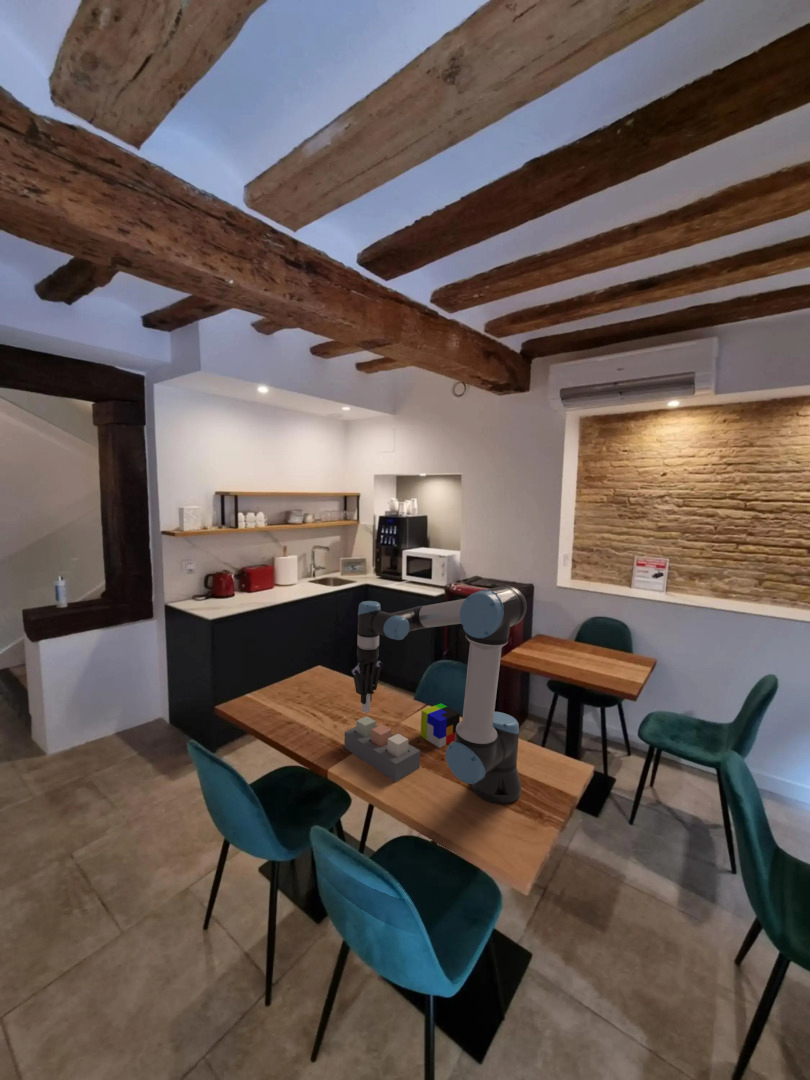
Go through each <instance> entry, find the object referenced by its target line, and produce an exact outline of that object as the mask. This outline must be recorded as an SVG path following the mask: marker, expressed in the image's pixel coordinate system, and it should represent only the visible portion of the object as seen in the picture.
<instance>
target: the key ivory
mask: <svg viewBox="0 0 810 1080" xmlns="http://www.w3.org/2000/svg"><path fill="white" fill-rule="evenodd" d="M408 744H409V739H408V738H407V737H405V736H403V735H401V734H400V733H396V734H395V735H394V736H392V737H390V738H388V745H387V752H388V753H390V754H392V755H393V756H395V757H397V758H399V757H401V756H402V755H404V754H406V753H408Z"/></svg>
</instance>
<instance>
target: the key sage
mask: <svg viewBox="0 0 810 1080" xmlns="http://www.w3.org/2000/svg"><path fill="white" fill-rule="evenodd" d="M355 724H356V726H355V727H356V733H357V734H359V735H361V736H362V737H364V738H366V737H368V736H371V731H372V729H373V728H376V726H377V720H375V719H373V718H371V717H369V716H367V715H365V717H361V718H360V719H357V720H356V723H355Z"/></svg>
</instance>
